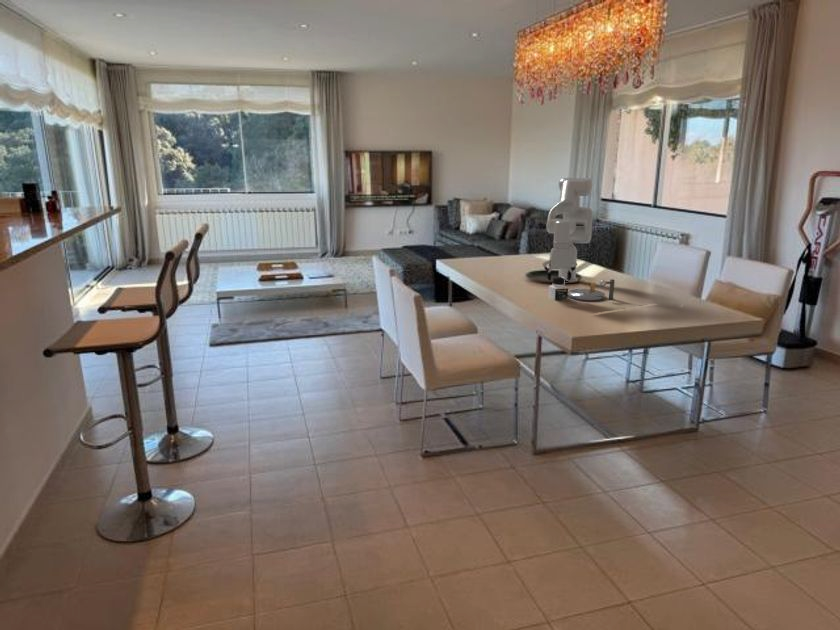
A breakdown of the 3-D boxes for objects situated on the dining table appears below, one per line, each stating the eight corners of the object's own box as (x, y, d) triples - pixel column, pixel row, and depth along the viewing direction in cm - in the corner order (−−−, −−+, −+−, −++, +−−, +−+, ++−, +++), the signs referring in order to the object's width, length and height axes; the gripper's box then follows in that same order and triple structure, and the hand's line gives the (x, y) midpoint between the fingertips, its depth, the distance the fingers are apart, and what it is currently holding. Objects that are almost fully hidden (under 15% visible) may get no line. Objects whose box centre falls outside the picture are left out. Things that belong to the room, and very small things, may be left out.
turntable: (594, 303, 281) (595, 291, 279) (561, 297, 292) (562, 285, 291) (610, 296, 294) (611, 284, 292) (578, 290, 305) (579, 279, 304)
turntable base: (562, 294, 302) (562, 292, 302) (598, 293, 303) (598, 292, 302) (572, 303, 284) (572, 301, 284) (610, 303, 284) (610, 301, 284)
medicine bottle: (554, 302, 287) (556, 279, 284) (548, 298, 294) (549, 276, 290) (567, 301, 289) (569, 278, 286) (560, 297, 296) (562, 275, 292)
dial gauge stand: (596, 300, 291) (598, 278, 287) (613, 300, 291) (615, 278, 287) (598, 302, 287) (600, 280, 284) (615, 302, 287) (617, 280, 284)
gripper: (576, 244, 287) (574, 278, 292) (542, 244, 287) (540, 278, 291) (580, 247, 280) (578, 281, 284) (545, 247, 280) (543, 281, 284)
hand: (558, 279), depth 288 cm, fingers open, 9 cm apart
